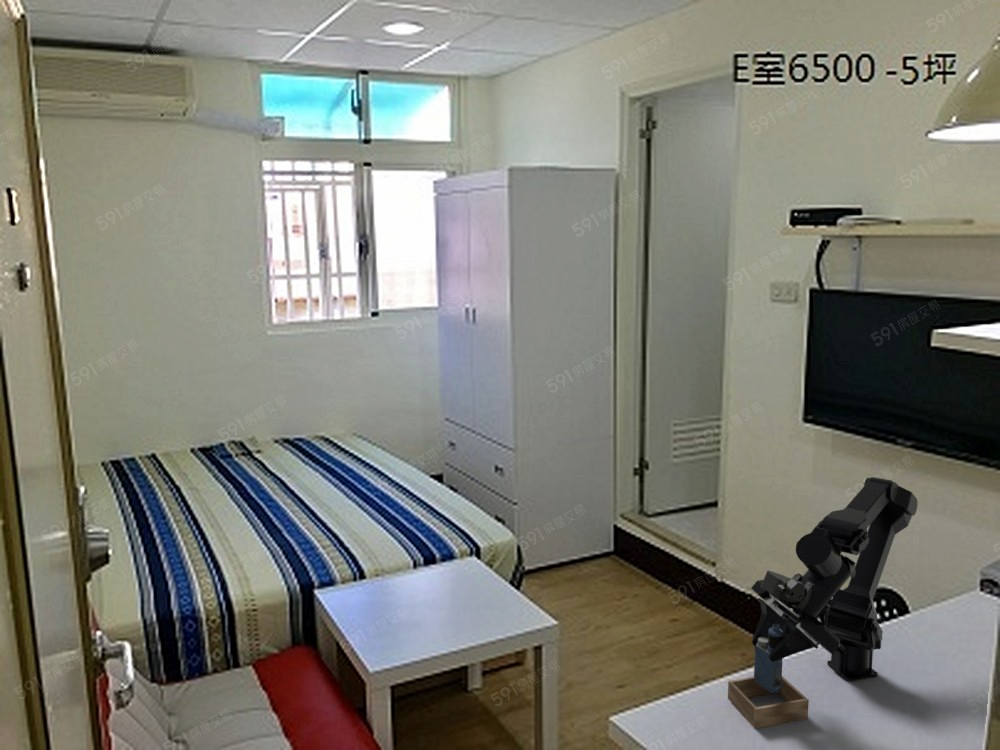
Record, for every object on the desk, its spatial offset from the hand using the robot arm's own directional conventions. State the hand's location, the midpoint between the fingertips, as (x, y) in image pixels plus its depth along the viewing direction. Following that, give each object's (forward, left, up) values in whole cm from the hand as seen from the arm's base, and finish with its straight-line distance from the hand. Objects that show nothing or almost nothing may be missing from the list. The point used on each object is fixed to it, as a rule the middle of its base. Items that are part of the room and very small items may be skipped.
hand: (761, 652), depth 135 cm
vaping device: (-1, 0, -7) cm, 7 cm away
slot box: (-1, 0, -11) cm, 11 cm away
